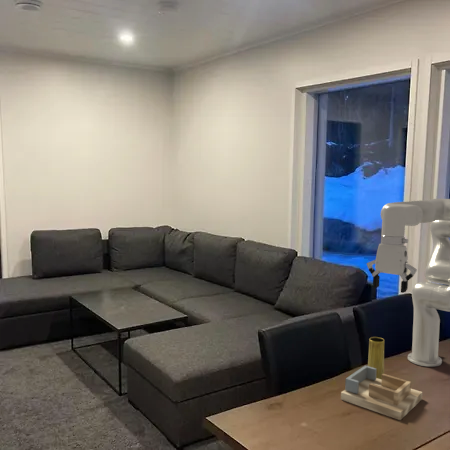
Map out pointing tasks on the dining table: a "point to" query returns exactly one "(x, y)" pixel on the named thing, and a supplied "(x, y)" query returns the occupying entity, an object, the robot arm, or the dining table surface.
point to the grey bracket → (359, 378)
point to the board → (385, 396)
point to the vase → (376, 355)
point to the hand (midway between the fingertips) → (389, 289)
